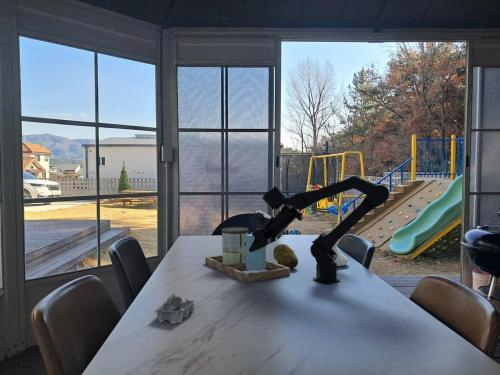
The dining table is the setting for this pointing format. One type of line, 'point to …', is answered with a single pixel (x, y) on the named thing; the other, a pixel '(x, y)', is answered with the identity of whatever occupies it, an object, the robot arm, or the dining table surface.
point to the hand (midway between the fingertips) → (252, 249)
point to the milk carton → (254, 256)
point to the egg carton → (174, 309)
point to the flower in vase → (340, 258)
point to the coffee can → (234, 244)
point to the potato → (285, 256)
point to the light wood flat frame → (234, 268)
